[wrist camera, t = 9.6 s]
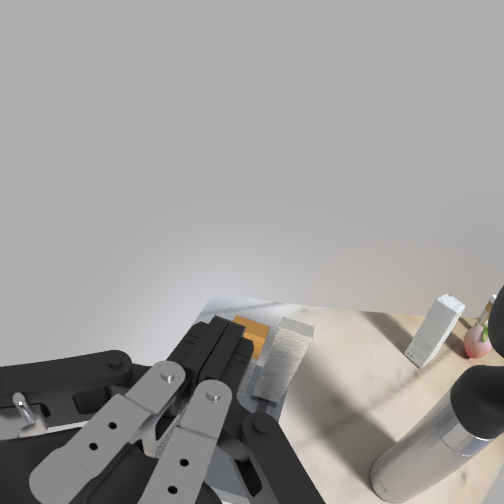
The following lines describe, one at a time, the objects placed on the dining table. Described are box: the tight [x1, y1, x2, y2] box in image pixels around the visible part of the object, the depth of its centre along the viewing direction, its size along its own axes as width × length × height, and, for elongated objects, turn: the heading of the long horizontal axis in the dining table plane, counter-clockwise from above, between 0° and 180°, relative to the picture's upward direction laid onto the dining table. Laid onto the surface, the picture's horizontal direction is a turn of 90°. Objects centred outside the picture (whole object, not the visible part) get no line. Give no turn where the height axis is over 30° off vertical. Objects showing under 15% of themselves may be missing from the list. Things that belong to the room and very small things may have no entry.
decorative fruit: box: [464, 325, 491, 358], centre depth 55 cm, size 9×8×10 cm
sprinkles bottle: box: [475, 295, 497, 326], centre depth 65 cm, size 5×5×14 cm
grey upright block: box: [252, 317, 314, 403], centre depth 32 cm, size 2×4×12 cm, turn 74°
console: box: [204, 365, 287, 504], centre depth 32 cm, size 20×10×4 cm, turn 164°
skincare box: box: [404, 294, 465, 369], centre depth 52 cm, size 8×6×15 cm
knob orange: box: [233, 315, 270, 404], centre depth 31 cm, size 2×4×12 cm, turn 74°
